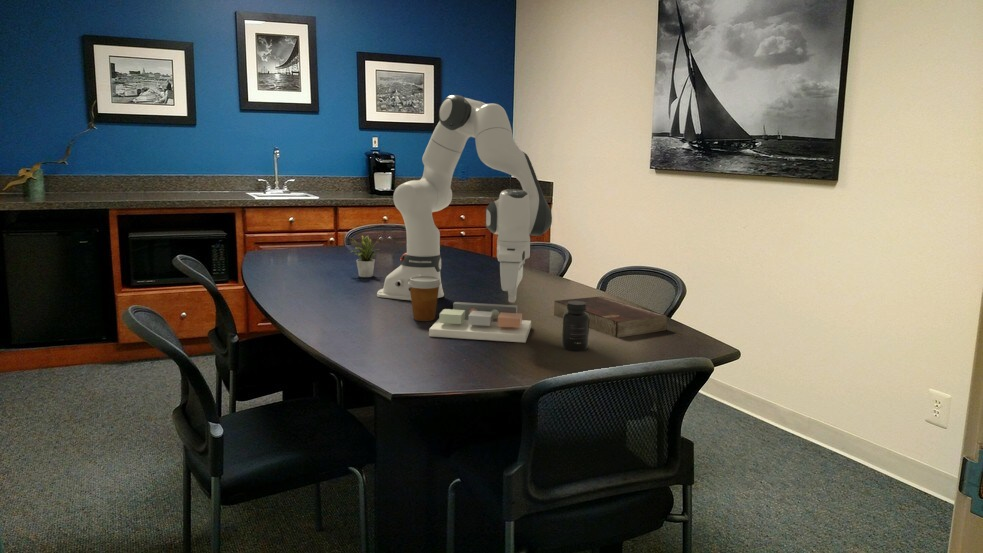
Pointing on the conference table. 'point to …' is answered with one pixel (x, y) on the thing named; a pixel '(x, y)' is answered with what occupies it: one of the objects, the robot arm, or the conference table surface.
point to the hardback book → (616, 317)
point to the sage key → (452, 316)
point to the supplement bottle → (575, 327)
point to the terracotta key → (510, 320)
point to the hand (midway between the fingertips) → (512, 301)
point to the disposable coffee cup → (424, 296)
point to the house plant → (365, 258)
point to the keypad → (482, 331)
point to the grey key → (480, 318)
